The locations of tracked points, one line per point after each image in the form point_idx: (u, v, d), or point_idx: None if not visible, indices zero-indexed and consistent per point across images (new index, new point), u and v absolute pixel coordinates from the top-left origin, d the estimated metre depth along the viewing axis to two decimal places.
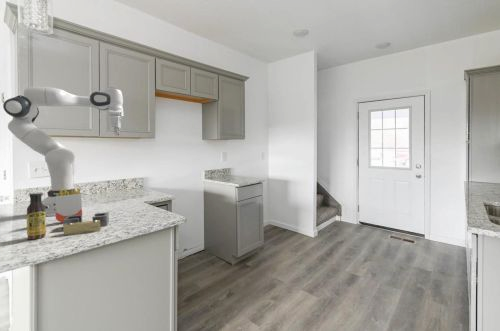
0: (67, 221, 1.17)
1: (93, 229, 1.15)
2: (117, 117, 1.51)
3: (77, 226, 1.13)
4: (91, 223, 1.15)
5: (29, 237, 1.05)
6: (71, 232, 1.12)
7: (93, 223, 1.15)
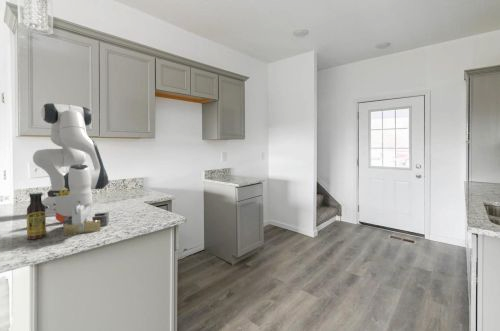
0: (67, 221, 1.17)
1: (93, 229, 1.15)
2: None
3: (77, 226, 1.13)
4: (91, 223, 1.15)
5: (29, 237, 1.05)
6: (71, 232, 1.12)
7: (93, 223, 1.15)
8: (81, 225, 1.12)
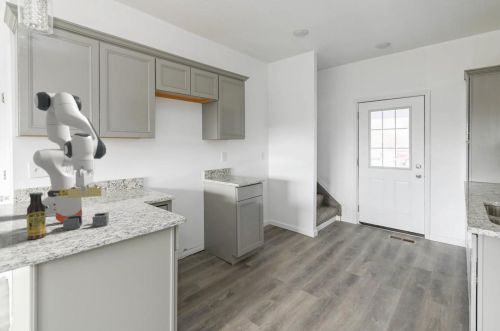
0: (67, 221, 1.17)
1: (95, 194, 1.23)
2: None
3: (80, 191, 1.21)
4: (93, 188, 1.23)
5: (29, 237, 1.05)
6: (75, 196, 1.20)
7: (95, 188, 1.23)
8: (84, 189, 1.20)
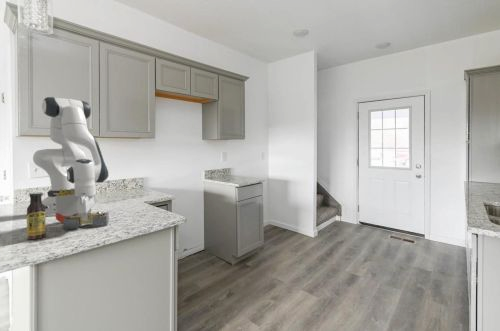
0: (67, 221, 1.17)
1: None
2: None
3: (82, 217, 1.22)
4: (95, 214, 1.24)
5: (29, 237, 1.05)
6: None
7: (97, 214, 1.24)
8: (85, 216, 1.19)
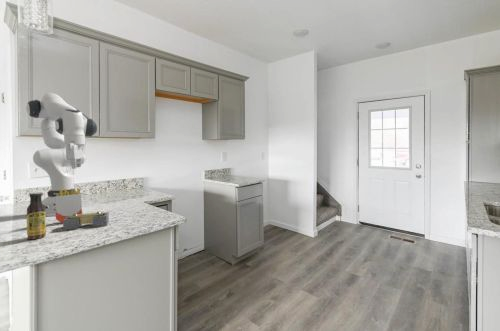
0: (67, 221, 1.17)
1: None
2: None
3: (82, 217, 1.22)
4: (95, 214, 1.24)
5: (29, 237, 1.05)
6: None
7: (97, 214, 1.24)
8: (73, 163, 1.22)
